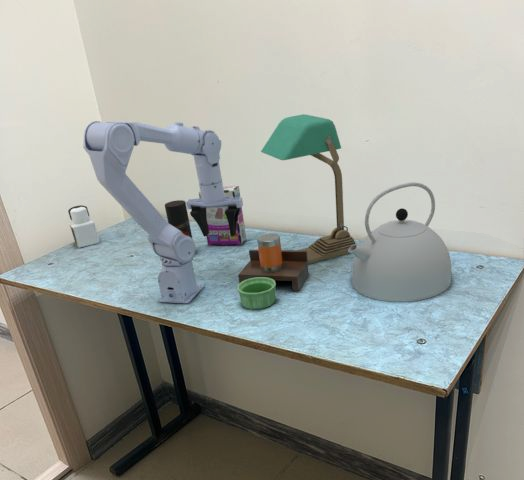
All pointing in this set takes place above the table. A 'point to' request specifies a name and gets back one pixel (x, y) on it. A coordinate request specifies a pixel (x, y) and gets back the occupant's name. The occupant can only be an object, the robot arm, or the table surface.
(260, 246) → the tin can
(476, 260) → the table surface
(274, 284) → the ramekin
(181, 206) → the deodorant
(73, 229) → the white handled box
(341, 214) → the banker's lamp
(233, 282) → the table surface
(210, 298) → the table surface
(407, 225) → the kettle
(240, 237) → the candy bar box
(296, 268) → the shelf
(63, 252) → the table surface
